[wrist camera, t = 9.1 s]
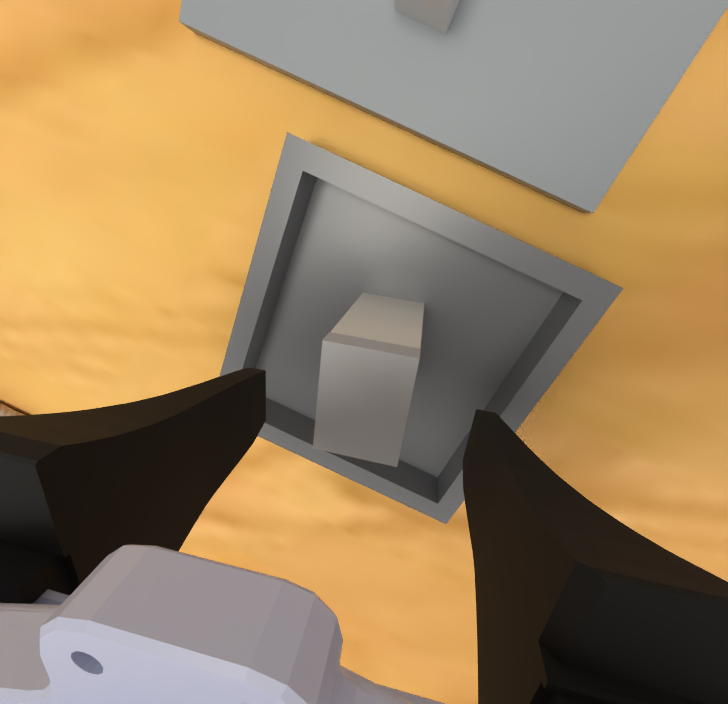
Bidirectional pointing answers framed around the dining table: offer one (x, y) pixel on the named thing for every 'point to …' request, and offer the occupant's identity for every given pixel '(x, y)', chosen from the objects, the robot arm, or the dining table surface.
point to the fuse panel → (486, 72)
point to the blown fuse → (368, 379)
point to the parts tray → (413, 283)
